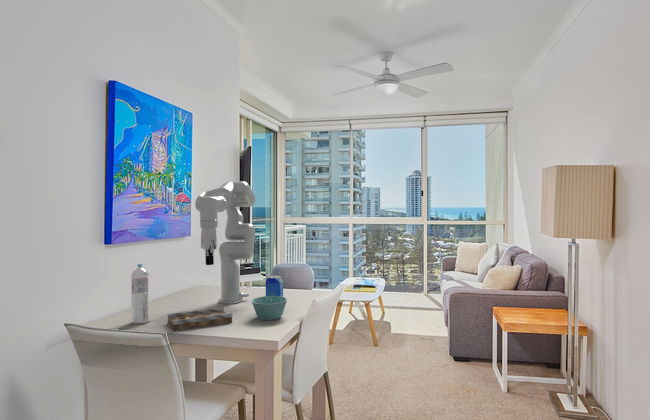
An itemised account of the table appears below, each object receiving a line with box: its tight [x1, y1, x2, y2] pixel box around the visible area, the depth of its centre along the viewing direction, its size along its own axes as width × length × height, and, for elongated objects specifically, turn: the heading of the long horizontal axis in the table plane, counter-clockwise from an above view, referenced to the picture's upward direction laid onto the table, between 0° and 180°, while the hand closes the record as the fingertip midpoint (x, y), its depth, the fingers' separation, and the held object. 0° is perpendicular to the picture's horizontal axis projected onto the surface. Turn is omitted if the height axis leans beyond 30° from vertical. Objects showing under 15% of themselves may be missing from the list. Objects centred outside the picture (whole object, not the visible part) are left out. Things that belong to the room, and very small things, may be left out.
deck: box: [167, 306, 233, 332], centre depth 179 cm, size 24×13×4 cm, turn 120°
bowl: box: [251, 295, 288, 321], centre depth 187 cm, size 16×16×8 cm
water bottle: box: [130, 263, 150, 325], centre depth 180 cm, size 7×7×25 cm
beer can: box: [265, 275, 284, 297], centre depth 203 cm, size 8×8×16 cm
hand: (209, 264), depth 189 cm, fingers closed
